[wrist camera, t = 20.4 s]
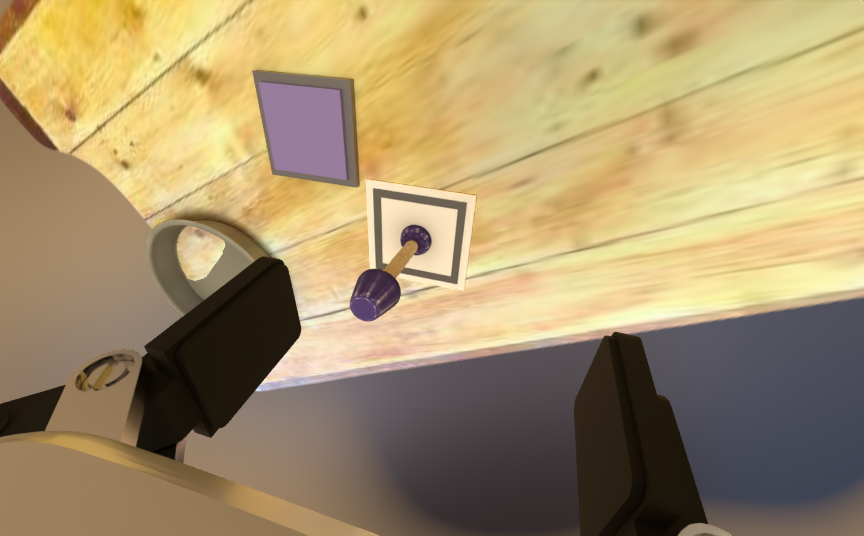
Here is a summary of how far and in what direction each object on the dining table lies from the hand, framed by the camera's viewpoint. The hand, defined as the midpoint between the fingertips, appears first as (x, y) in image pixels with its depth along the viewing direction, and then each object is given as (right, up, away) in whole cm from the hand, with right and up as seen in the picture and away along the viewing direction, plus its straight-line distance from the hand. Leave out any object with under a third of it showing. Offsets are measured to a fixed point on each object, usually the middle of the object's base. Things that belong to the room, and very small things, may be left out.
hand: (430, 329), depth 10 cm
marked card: (-2, +6, +37) cm, 37 cm away
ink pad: (-15, +18, +33) cm, 40 cm away
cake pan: (-34, +1, +51) cm, 61 cm away
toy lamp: (-2, +6, +36) cm, 37 cm away
